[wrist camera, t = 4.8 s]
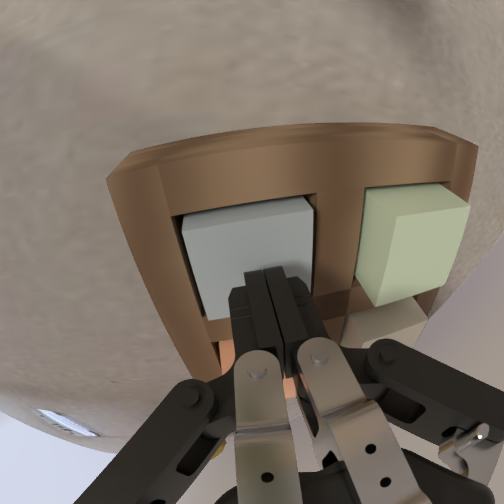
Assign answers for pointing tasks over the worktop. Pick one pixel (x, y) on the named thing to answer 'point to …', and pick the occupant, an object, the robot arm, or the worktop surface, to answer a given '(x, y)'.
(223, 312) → the key slate
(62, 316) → the worktop surface
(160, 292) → the keypad
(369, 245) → the key sage
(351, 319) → the key cream
